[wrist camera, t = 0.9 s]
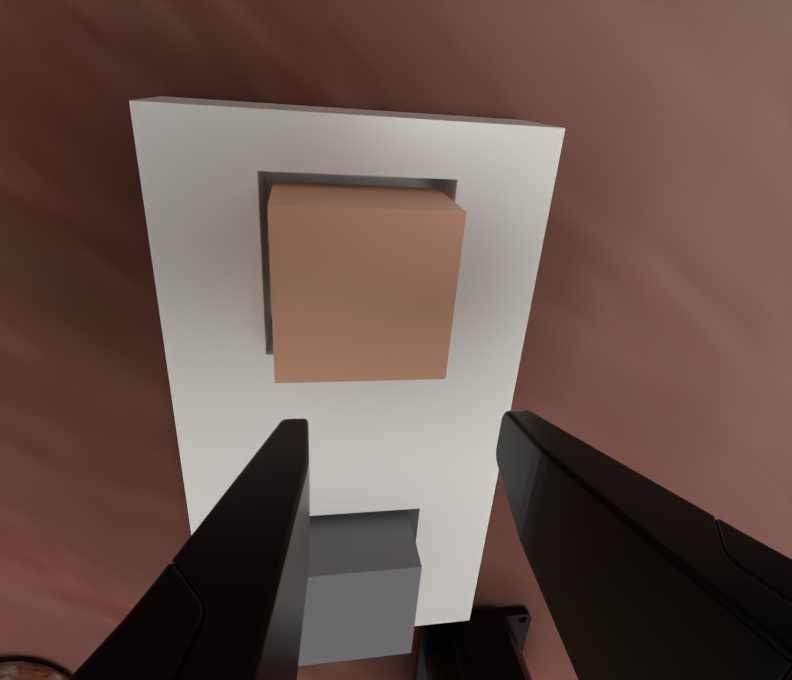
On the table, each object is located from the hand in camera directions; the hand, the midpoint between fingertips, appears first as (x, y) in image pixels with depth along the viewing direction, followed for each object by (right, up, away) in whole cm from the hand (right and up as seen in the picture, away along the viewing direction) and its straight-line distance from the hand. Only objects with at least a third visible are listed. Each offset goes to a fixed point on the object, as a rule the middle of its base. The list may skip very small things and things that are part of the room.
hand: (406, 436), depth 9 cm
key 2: (-2, -8, +14) cm, 16 cm away
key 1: (-2, +4, +8) cm, 9 cm away
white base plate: (-2, 0, +13) cm, 14 cm away
